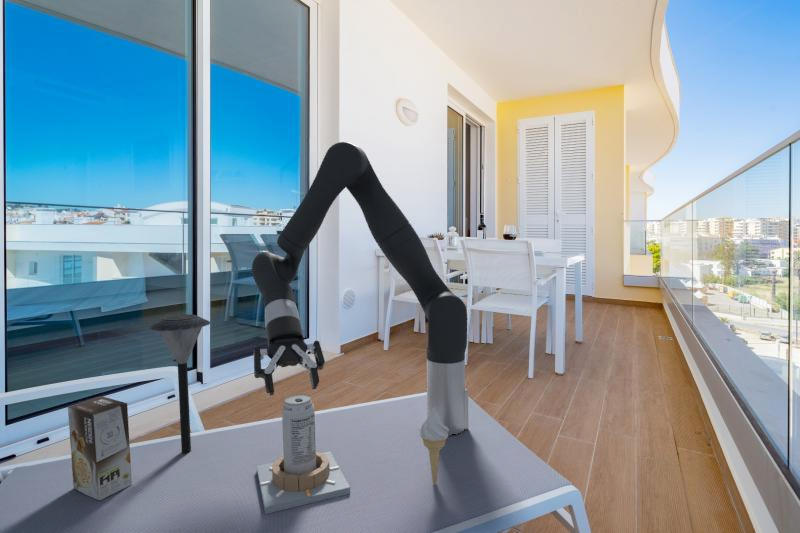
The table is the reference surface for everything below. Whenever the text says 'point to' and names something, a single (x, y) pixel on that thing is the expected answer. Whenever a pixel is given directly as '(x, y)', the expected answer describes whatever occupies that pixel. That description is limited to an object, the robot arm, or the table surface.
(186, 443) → the solar garden light
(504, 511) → the table surface
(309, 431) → the energy drink can
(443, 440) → the ice cream cone
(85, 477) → the coffee box
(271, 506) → the dial plate
